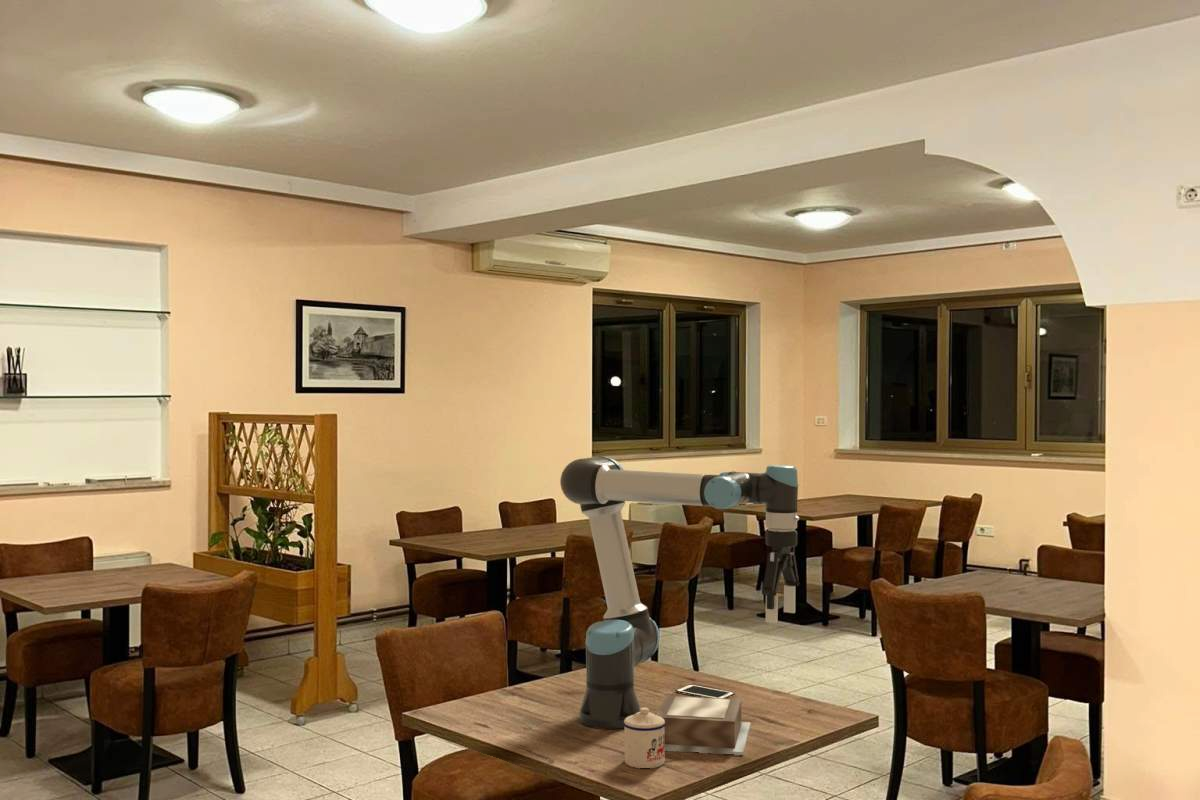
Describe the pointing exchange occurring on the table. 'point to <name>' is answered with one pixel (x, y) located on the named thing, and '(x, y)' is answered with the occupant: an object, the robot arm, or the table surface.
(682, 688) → the cell phone
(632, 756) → the teacup with lid
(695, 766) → the table surface
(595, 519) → the robot arm
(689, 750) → the plinth
